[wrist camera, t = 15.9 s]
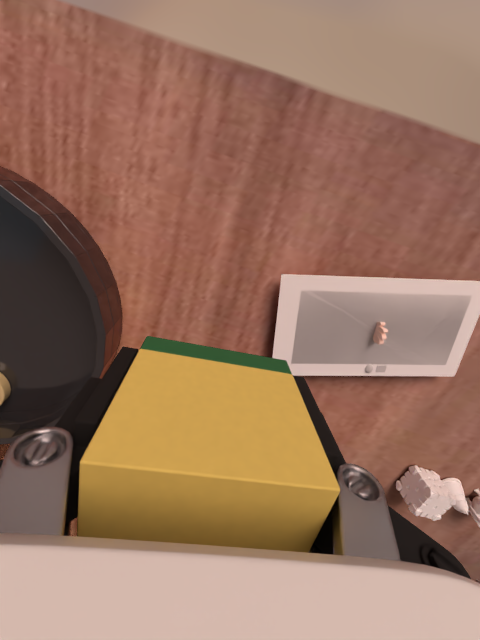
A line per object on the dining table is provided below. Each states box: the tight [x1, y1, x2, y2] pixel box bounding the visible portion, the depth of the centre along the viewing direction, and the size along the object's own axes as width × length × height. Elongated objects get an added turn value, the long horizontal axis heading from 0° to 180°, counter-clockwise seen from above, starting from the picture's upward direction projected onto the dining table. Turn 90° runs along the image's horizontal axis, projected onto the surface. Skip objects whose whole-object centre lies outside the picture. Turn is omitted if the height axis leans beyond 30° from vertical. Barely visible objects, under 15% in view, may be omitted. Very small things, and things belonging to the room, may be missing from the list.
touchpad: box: [272, 274, 480, 376], centre depth 21 cm, size 8×15×2 cm, turn 87°
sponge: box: [77, 336, 340, 553], centre depth 9 cm, size 4×6×6 cm
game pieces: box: [396, 465, 480, 527], centre depth 29 cm, size 12×3×3 cm, turn 65°
